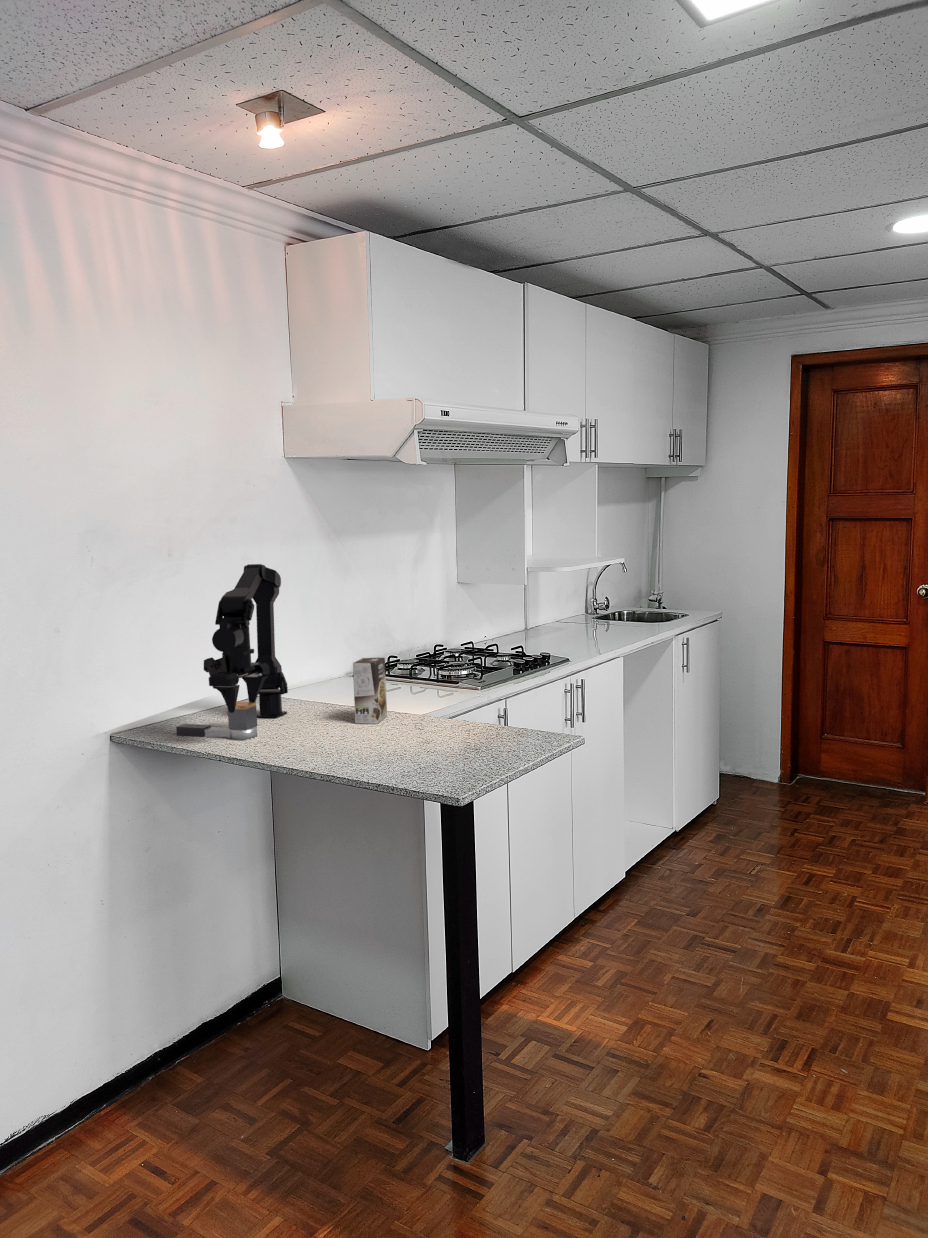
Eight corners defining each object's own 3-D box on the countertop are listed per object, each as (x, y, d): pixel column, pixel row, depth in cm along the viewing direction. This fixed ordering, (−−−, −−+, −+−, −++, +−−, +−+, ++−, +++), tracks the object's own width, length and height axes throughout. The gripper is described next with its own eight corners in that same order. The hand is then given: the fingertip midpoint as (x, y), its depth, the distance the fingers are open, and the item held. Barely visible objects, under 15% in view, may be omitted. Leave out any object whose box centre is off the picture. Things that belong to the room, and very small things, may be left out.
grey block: (239, 725, 233) (238, 701, 232) (257, 725, 231) (256, 702, 230) (228, 729, 228) (227, 705, 227) (246, 730, 226) (245, 706, 226)
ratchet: (188, 730, 239) (186, 710, 238) (262, 734, 232) (260, 713, 231) (173, 736, 233) (171, 715, 232) (248, 741, 226) (247, 719, 225)
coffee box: (378, 724, 239) (375, 662, 237) (354, 724, 240) (351, 662, 239) (388, 716, 248) (385, 656, 246) (365, 716, 249) (362, 657, 247)
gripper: (230, 640, 238) (234, 700, 240) (187, 651, 221) (191, 715, 222) (269, 640, 235) (272, 701, 236) (228, 652, 217) (232, 717, 219)
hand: (242, 708), depth 229 cm, fingers open, 9 cm apart
